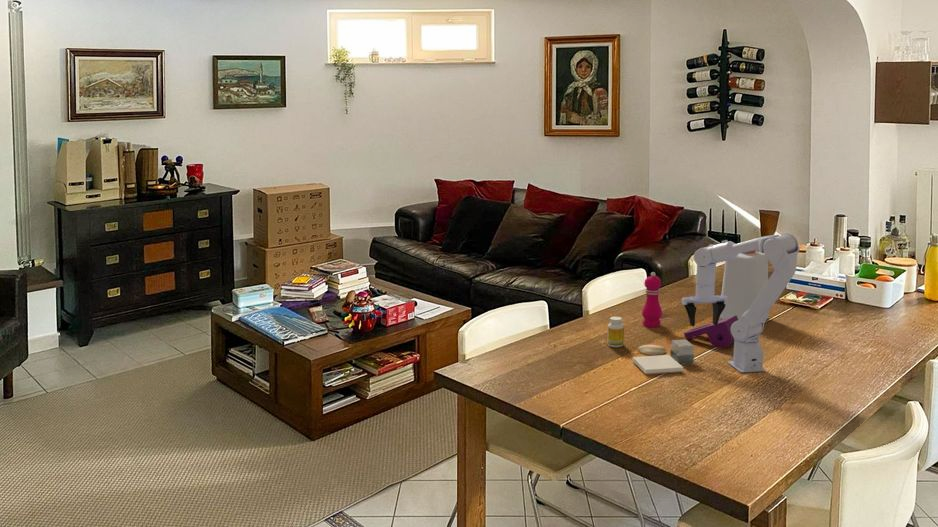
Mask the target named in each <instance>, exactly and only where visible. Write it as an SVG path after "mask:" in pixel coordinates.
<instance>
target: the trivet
mask: <svg viewBox="0 0 938 527" xmlns="http://www.w3.org/2000/svg"><path fill="white" fill-rule="evenodd" d="M632 362H633V363H634V364H635V366H636V367H638V368H639V370H641V372H643V374H645V375H646V376H648V375H649V376H650V375H663V374H664V375H665V374H679V373H680V374H681V373H682V372H684V367H683V366H682V364H681V365H680V364H679V363H678V362H677V361H675V360H674V359H673V358H672V357H671V356H670V355H669V354H661V355H648V356H647V355H645V356H632Z"/></svg>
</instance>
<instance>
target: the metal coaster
mask: <svg viewBox="0 0 938 527" xmlns="http://www.w3.org/2000/svg"><path fill="white" fill-rule="evenodd" d="M666 350H667V348H666V347H664V346H662V345H657V344H643V345H639V346H638V347H637V351H638V352H639V353H640V354H643V355H646V356H647V355H648V356H658V355H665V353H666Z"/></svg>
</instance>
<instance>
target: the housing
mask: <svg viewBox="0 0 938 527" xmlns="http://www.w3.org/2000/svg"><path fill="white" fill-rule="evenodd" d="M670 344H671V345H670V351H669V352H670V356H671V357H672V358H673V359H674V360H675V361H677V362H678V363H679V364H680V365H681V366H682V365H693V364H694V363H695V362H694V361H695V354H694V352H695V351H694V348H695V346H694V345H693V344H692V343H691V342H690V341H688V339H686V338H685V339H672V340H671V343H670Z"/></svg>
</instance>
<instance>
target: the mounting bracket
mask: <svg viewBox="0 0 938 527" xmlns="http://www.w3.org/2000/svg"><path fill="white" fill-rule="evenodd" d="M737 320H738V317H737V315H735V316H732V317H729V318H725V319H719V320H718V324H717V325H714V324H713V321H711V322H708V323H705V324H703V325H700V326H696V327H694V328H693V327H692V329H689V330H687V331H685V332H683V335H684V337H685V339H686V340H688V339H692V338H696V337H699V336H703V335H707V337H708V340H709V342H710V343H711V345H712V346H713V347H715V348H718V347H719V349H726V348H728V347H730V346H731V345H732V344H734V337H733V336H732V334H731V330H730V329H731V325H732V324H733V323H734V322H735V321H737Z"/></svg>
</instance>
